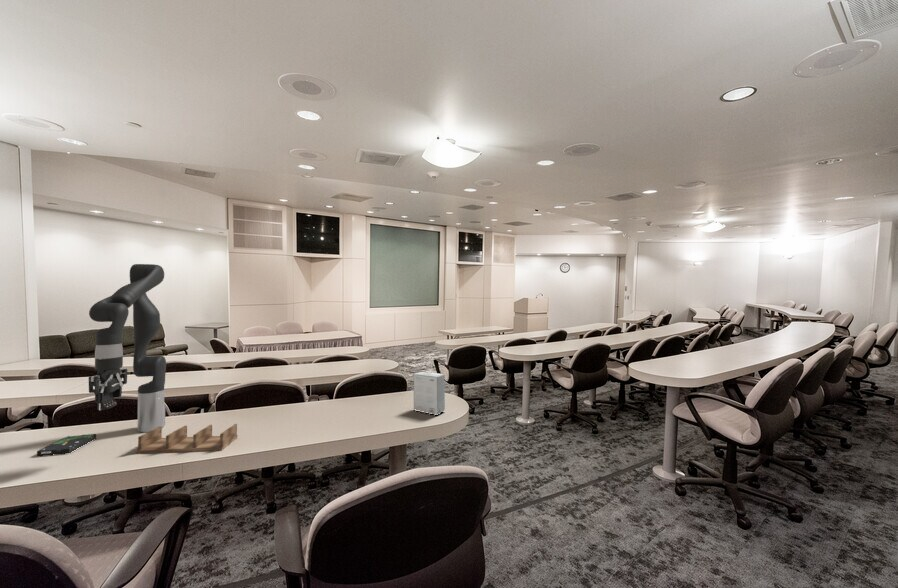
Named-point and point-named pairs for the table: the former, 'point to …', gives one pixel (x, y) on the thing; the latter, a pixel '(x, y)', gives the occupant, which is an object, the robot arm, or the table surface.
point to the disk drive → (66, 445)
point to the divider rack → (185, 440)
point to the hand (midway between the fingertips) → (108, 399)
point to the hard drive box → (429, 392)
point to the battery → (108, 394)
